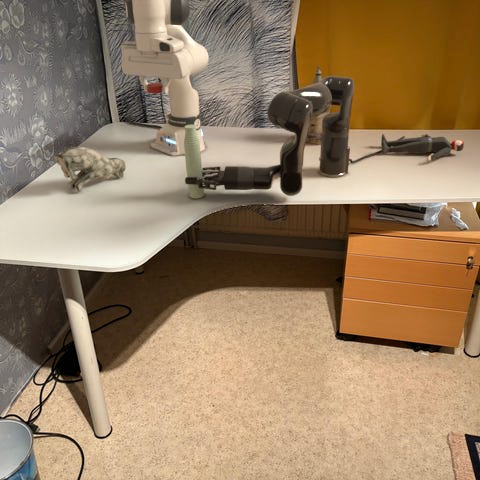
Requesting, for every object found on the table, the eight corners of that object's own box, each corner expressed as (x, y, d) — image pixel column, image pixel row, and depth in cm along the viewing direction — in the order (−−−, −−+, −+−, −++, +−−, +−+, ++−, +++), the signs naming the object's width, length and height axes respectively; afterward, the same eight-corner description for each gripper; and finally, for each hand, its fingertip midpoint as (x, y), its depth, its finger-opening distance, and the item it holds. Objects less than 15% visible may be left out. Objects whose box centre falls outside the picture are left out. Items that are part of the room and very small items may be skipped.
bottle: (186, 194, 175) (179, 126, 164) (199, 191, 178) (193, 122, 166) (193, 199, 172) (187, 129, 160) (206, 195, 174) (201, 126, 163)
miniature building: (320, 132, 228) (325, 59, 214) (338, 142, 217) (344, 66, 203) (293, 137, 224) (296, 63, 209) (310, 147, 213) (314, 69, 198)
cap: (148, 94, 154) (147, 87, 153) (146, 90, 158) (145, 83, 157) (164, 92, 155) (163, 86, 154) (162, 88, 159) (161, 82, 158)
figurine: (92, 206, 176) (137, 172, 185) (60, 158, 168) (108, 124, 176) (80, 204, 184) (124, 171, 193) (49, 157, 175) (96, 125, 184)
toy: (381, 127, 217) (459, 127, 211) (380, 142, 220) (457, 142, 214) (382, 148, 195) (470, 149, 189) (381, 165, 198) (468, 166, 192)
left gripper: (114, 42, 152) (120, 91, 158) (178, 46, 145) (181, 97, 151) (126, 38, 157) (132, 86, 163) (189, 42, 150) (191, 92, 156)
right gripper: (240, 159, 175) (189, 158, 176) (237, 175, 163) (182, 175, 164) (241, 180, 179) (190, 179, 180) (238, 198, 166) (183, 197, 167)
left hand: (156, 91), depth 157 cm, fingers closed on cap, 4 cm apart
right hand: (186, 177), depth 172 cm, fingers closed on bottle, 5 cm apart
